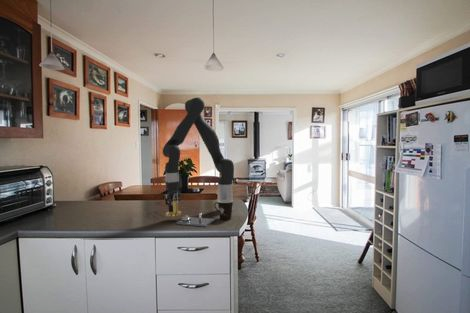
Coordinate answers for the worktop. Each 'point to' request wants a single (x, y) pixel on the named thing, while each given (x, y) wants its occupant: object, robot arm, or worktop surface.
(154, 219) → the worktop surface
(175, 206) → the planet gear
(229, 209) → the coffee mug
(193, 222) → the carrier
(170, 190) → the robot arm
